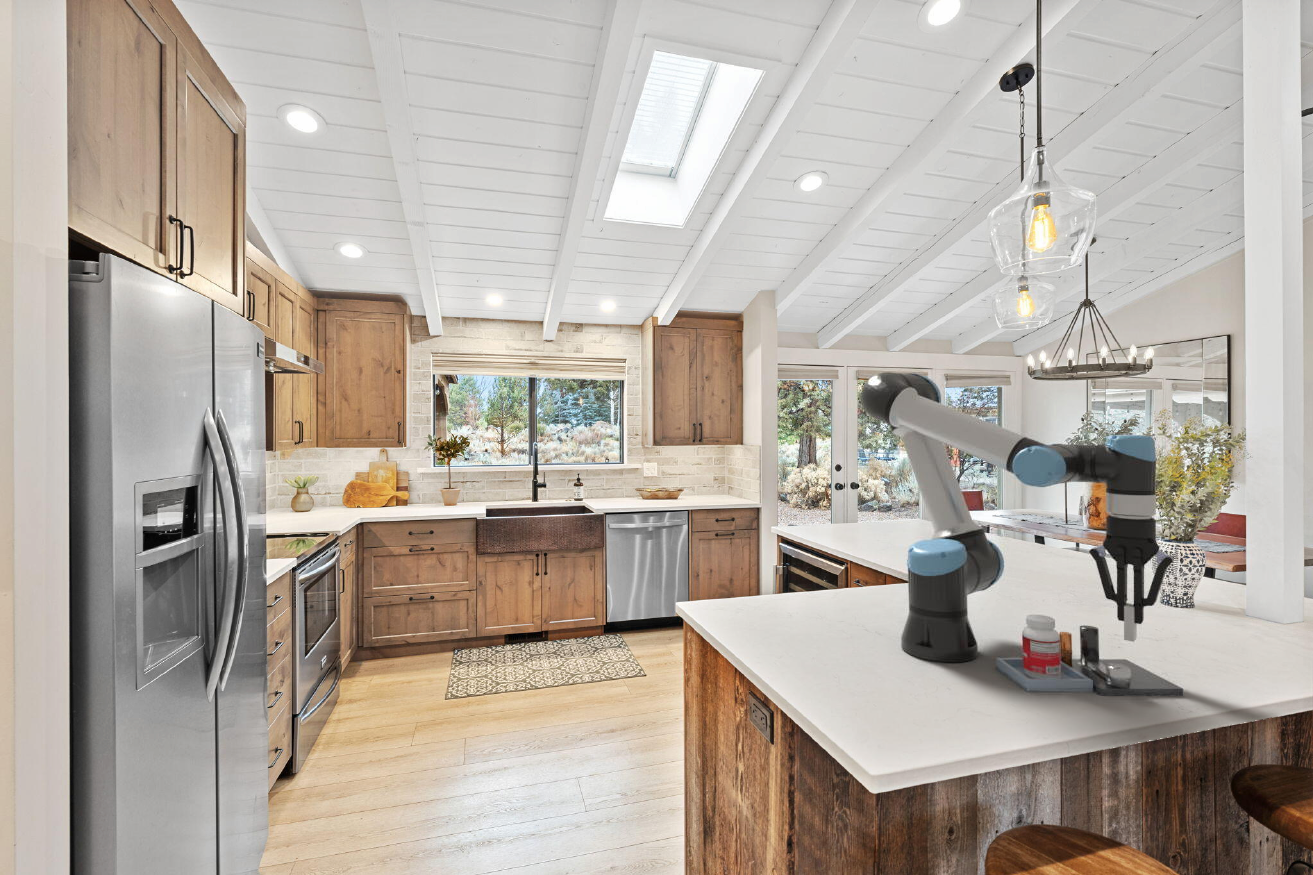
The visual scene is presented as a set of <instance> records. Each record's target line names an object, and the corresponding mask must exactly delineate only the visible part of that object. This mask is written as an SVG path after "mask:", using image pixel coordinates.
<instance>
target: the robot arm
mask: <svg viewBox="0 0 1313 875" xmlns="http://www.w3.org/2000/svg"><path fill="white" fill-rule="evenodd" d="M862 386H863V387H862V390H861V393H860V402H861V405H862V408H863V410H864V412H866V414H867V415H869V416H870V417H871V418H872V419H875V420H878V421H880V422H883V423H885V424H887V425H890V426H889V427H890V429H891V432H892V434H893V435H896V437H900V438H901V440H902V443H903V446H904V449H905V452H906V455H907V457H908V460H909V463H910V466H911V469H912V471H913V475H914V477H915V480H916V483H917V485H918V489H919V491H920V494H921V497H922V500H923V502H924V505H925V508H926V511H927V514H928V517H929V519H930V523H931V525H932V528H933V530H934V531H933V535H932V536H931V539H923V540H919V541H916V542H914V543H913V544H911V545H910V547H909V548H908V550H907V551H908V552H907V559H906V566H907V583H908V587H907V588H908V615H907V619H906V621H905V624H904V626H903V627H904V628H903V630H902V633H901V640H900V641H901V642H900V643H901V645H900V646H901V649H902V650H903V651H904V652H906V653H907V654H909V655H911V656H913V657H916V658H919V659H924V660H927V661H931V662H932V661H933V662H940V663H963V662H964V663H965V662H970V661H972V660H973V661H974V660H975V659H976V658H978V655H979V649H978V647H979V646H978V642H977V639H976V636H975V634H974V631H973V628H972V625H971V622H970V620H969V614H968V613H969V611H968V596H969V595H971V594H974V593H976V592H982V591H986V590H988V589H989V588H990V587H992V586H993V585H995V584H996V583H998V581H999V580H1000V579H1001V578H1002V576H1003V573H1004V569H1005V561H1004V559H1005V558H1004V556H1003V553H1002V551H1001V550H1000V548H999V547H998V546H997V545H996V544H995V542H994V543H993V541H991V540H990V539H988V538H987V535H986V533H985V530H984V528H983V526H981V525H979V524H978V523H975V521H973V519H972V516H971V513H970V511H969V508H968V505H967V503H966V500H965V497H964V495H963V492H962V489H961V487H960V483H959V481H958V478H957V475H956V473H955V471H954V467H953V464H952V463H951V460H950V456H949V455H948V452H947V449H946V447H945V445H947V446H949V447H952V448H954V449H955V450H959V451H961V452H963V453H965V454H968V455H969V456H971V457H974V458H976V459H979V460H981V461H983V462H986V463H988V464H991V465H992V466H994V467H998V468H999V469H1002V470H1004V471H1007V472H1008V473H1011V474H1013V475H1015V477H1016V478H1017V479H1018V480H1019V481H1020V482H1021V483H1023V484H1024V485H1026V486H1030V487H1036V488H1046V487H1051V486H1054V485H1060V484H1066V483H1097V484H1105V488H1106V489H1105V512H1106V513H1107V514H1109V515H1107V516H1106V517H1105V538H1104V540H1103V541H1102V544H1100V545H1099V546H1096V547H1092V548H1091V549H1089V551H1088V552H1089V554H1090V556H1091V557H1092V558H1093V560H1094V561H1095V564H1096V568H1097V571H1098V575H1099V578H1100V582H1101V585H1102V588H1103V593H1104V595H1105V598H1106V599H1107V600H1109V601H1113V602H1114V603H1115V604H1116V607H1117V608H1116V612H1117V613H1116V616H1117V620H1118V621H1119V622H1121V621H1122V622H1123V640H1124V641H1127V642H1135V641H1136V640H1137V630H1138V628H1137V625H1142V624H1143V621H1144V617H1145V616H1144V610H1145V609H1144V608H1145V607H1152V606H1154V605H1155V603H1156V602H1157V600H1158V596H1159V593H1160V590H1161V588H1162V584H1163V581H1164V578H1165V574H1166V572H1167V570H1168V567H1169V566H1170V565H1171V564H1172V563H1174V561H1175V558H1174V556H1173V555H1168V554H1166V553H1165V552H1163V551H1162V550H1160V546H1159V544H1158V542H1157V538H1156V537H1157V528H1156V527H1157V524H1156V523H1157V521H1156V520H1155V518H1153V516H1155V515H1156V514H1157V502H1156V501H1157V498H1156V497H1157V496H1156V494H1157V492H1156V484H1157V483H1156V479H1157V478H1156V477H1157V476H1156V475H1157V462H1158V460H1157V455H1156V441H1155V439H1154V438H1153V437H1152V436H1150V435H1147V434H1110V435H1108V436H1107V437H1106V440H1105V442H1104V444H1097V445H1096V444H1067V443H1066V444H1063V443H1052V444H1046V443H1042V442H1040V441H1037V440H1035V439H1032V438H1029V437H1028V436H1025V435H1022V434H1019V433H1018V432H1015V431H1012V430H1009V429H1007V428H1004V427H1001V426H998V425H996V424H994V423H991V422H988V421H986V420H984V419H981V418H978V417H976V416H973V415H971V414H968V413H966V412H963V411H960V410H958V409H955V408H953V407H950V406H948V405H945V404H942V395H941V391H940V388H939V387H938V385H937V384H936V383H935V382H934V381H933V380H932V379H930V378H928V377H927V376H924V375H921V374H918V373H902V372H901V373H899V372H892V371H890V372H889V371H888V372H887V371H884V372H879V373H877V374H875V375H873V376H871V377H870V378H869V379H867V381H866V382H865V383H864V385H862ZM1106 551H1107V553H1108V554H1109V555H1110V556H1111V558H1112V559H1113V560H1114V561H1115V563H1116V566H1115V567H1116V591H1115V587H1114V583H1113V579H1112V577H1111V572H1110V569H1109V566H1108V563H1107V559H1106V557H1105V556H1107V553H1106ZM1155 556H1156V559H1155V562H1156V563H1157V564H1158V565H1157V567H1156V569H1155V572H1154V574H1153V575H1154V576H1153V578H1152V582H1151V585H1150V588H1149V590H1148V594H1147V597H1145V565H1146V564H1147V563H1148V562H1150V560H1152V559H1153V557H1155ZM1129 565H1131V566H1132V570H1133V603H1129V602H1127V601H1128V566H1129Z"/></svg>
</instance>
